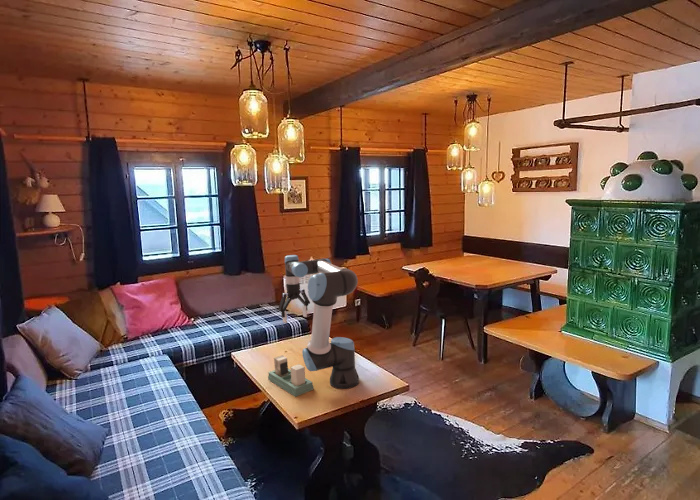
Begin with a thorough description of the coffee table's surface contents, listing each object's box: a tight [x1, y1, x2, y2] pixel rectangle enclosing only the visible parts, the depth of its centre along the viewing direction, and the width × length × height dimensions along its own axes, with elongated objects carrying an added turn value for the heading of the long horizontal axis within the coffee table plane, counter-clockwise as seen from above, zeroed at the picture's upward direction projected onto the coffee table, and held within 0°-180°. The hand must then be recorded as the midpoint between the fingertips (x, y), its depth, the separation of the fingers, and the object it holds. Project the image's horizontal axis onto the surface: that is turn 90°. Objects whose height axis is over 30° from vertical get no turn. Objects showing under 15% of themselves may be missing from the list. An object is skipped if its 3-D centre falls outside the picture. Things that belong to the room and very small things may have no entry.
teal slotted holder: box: [267, 363, 315, 398], centre depth 224 cm, size 26×11×12 cm, turn 40°
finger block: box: [273, 355, 289, 377], centre depth 230 cm, size 6×5×10 cm
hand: (295, 319), depth 246 cm, fingers open, 13 cm apart
